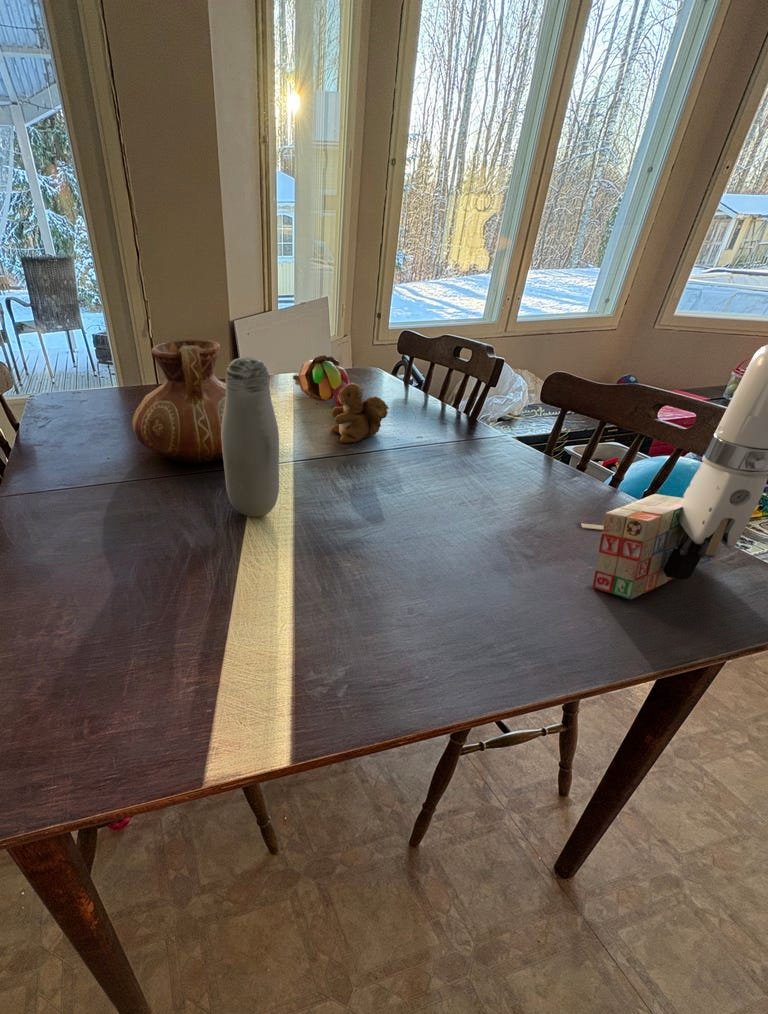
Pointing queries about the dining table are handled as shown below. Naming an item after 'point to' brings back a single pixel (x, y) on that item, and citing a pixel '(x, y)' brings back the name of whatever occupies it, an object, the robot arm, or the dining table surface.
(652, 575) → the stack of blocks
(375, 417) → the stuffed squirrel
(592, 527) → the strip
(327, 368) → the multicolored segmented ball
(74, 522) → the dining table surface
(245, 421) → the grey bottle
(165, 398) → the jug
